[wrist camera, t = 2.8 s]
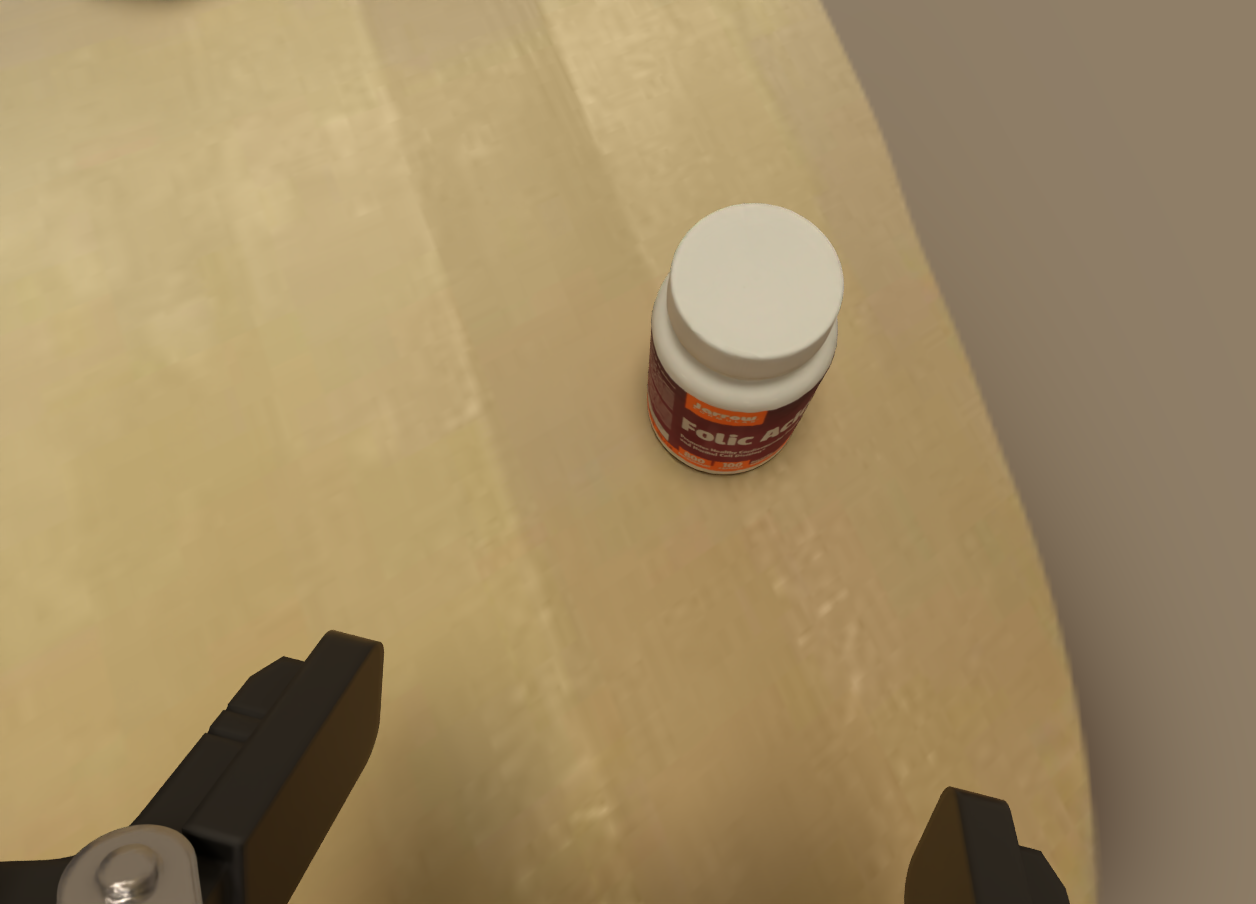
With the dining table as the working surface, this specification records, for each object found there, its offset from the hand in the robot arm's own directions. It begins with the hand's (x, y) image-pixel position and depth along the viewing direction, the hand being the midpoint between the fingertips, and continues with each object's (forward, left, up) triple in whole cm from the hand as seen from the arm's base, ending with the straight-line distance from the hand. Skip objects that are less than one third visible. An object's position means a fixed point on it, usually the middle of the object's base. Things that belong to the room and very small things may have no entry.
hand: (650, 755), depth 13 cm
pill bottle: (-2, -10, -14) cm, 18 cm away
